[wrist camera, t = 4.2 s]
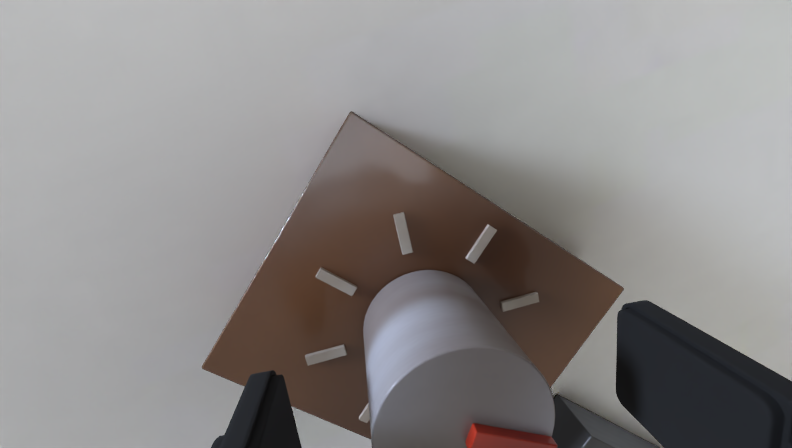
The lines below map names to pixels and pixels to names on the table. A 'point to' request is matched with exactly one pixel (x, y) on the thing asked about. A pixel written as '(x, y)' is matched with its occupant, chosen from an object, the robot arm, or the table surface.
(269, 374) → the robot arm
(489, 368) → the knob
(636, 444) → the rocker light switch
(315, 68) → the table surface
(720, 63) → the table surface
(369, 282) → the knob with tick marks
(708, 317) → the table surface
